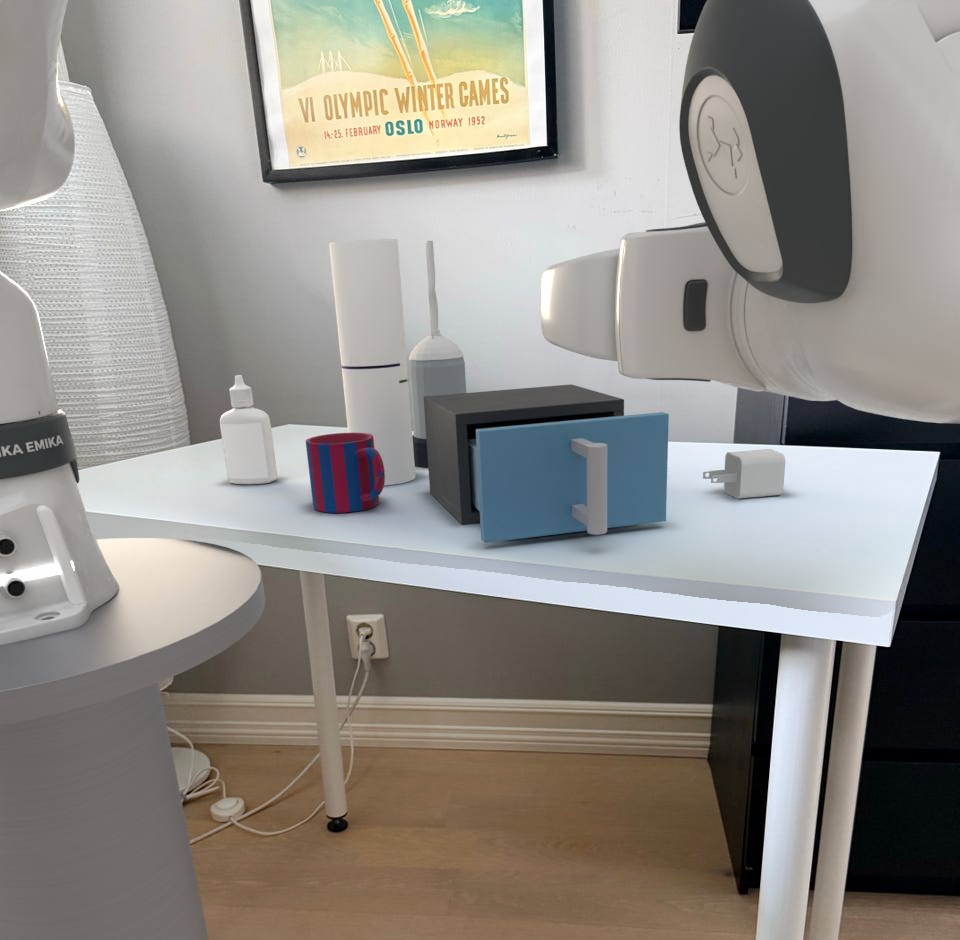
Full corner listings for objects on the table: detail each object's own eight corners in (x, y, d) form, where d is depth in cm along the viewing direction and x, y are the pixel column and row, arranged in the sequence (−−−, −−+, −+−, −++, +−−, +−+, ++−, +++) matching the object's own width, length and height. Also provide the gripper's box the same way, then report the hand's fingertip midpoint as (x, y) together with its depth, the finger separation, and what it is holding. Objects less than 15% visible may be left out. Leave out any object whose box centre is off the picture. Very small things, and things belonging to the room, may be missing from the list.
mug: (360, 494, 99) (353, 430, 96) (407, 510, 91) (402, 440, 89) (302, 505, 96) (294, 438, 93) (347, 522, 88) (339, 450, 85)
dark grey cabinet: (623, 506, 89) (624, 399, 85) (461, 524, 85) (455, 414, 82) (572, 478, 101) (571, 384, 98) (430, 493, 98) (423, 396, 94)
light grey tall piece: (480, 453, 118) (469, 239, 108) (470, 466, 110) (457, 237, 101) (417, 454, 119) (402, 243, 109) (403, 468, 111) (385, 242, 102)
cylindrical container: (340, 480, 106) (315, 244, 97) (390, 469, 111) (370, 242, 101) (377, 488, 101) (354, 240, 92) (428, 477, 106) (411, 238, 96)
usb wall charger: (782, 496, 89) (785, 454, 88) (714, 502, 88) (716, 460, 87) (764, 487, 93) (767, 447, 91) (698, 493, 92) (700, 453, 91)
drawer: (694, 536, 76) (699, 422, 72) (502, 560, 72) (497, 441, 69) (606, 489, 93) (606, 395, 90) (447, 507, 89) (441, 409, 86)
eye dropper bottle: (252, 487, 105) (236, 378, 100) (223, 482, 108) (207, 376, 104) (283, 480, 108) (269, 374, 103) (254, 475, 111) (239, 372, 107)
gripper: (990, 219, 45) (823, 232, 58) (598, 233, 41) (509, 244, 53) (970, 353, 48) (813, 338, 60) (597, 381, 43) (512, 358, 56)
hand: (668, 294), depth 57 cm, fingers open, 8 cm apart
